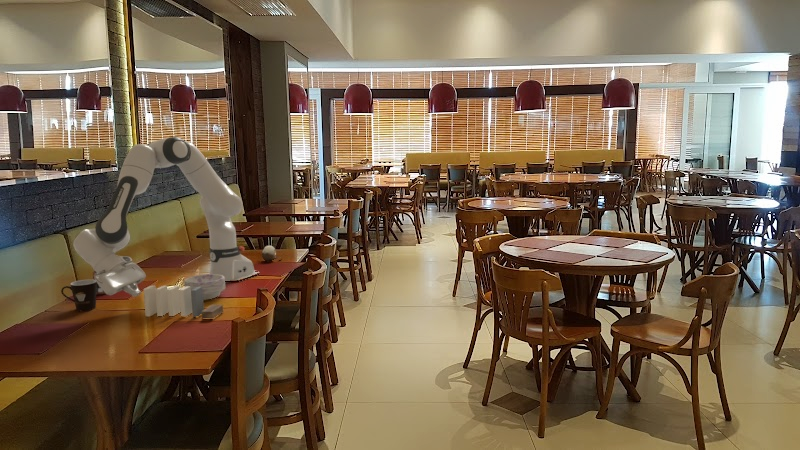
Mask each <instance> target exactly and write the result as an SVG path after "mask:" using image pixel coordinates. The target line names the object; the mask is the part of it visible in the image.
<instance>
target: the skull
mask: <svg viewBox="0 0 800 450" xmlns="http://www.w3.org/2000/svg"><path fill="white" fill-rule="evenodd" d="M276 255H277V251H276V248H275V247H274V246H272V245H266V246H265V247H264V248H263V250H262V252H261V258H263V259H264V260H265V261H272V260H274V259H280V258H282V257H281V256H276Z"/></svg>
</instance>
